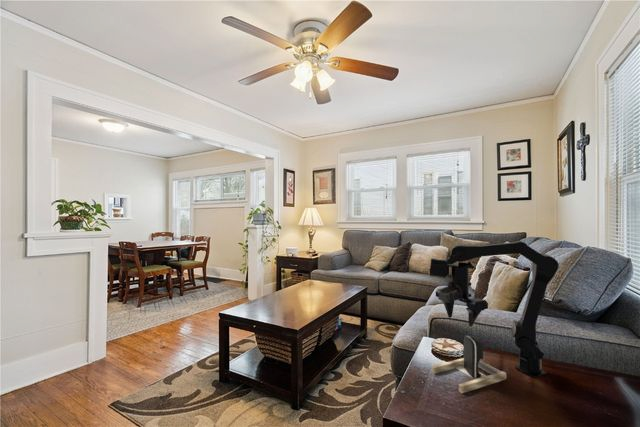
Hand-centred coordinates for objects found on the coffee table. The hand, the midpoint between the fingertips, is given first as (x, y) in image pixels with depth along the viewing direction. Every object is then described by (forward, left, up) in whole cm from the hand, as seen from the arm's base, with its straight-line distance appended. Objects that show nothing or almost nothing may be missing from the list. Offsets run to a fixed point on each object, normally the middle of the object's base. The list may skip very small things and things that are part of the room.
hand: (459, 321), depth 108 cm
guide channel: (+7, +10, -13) cm, 18 cm away
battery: (+5, +10, -13) cm, 17 cm away
